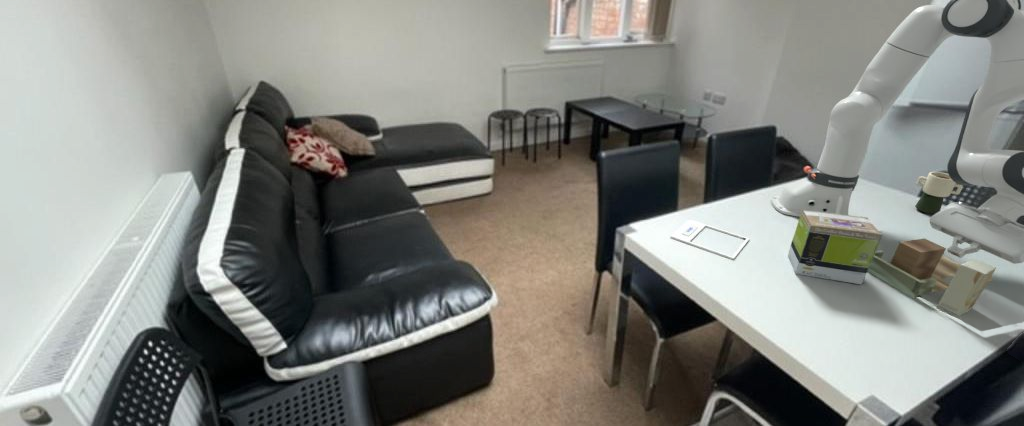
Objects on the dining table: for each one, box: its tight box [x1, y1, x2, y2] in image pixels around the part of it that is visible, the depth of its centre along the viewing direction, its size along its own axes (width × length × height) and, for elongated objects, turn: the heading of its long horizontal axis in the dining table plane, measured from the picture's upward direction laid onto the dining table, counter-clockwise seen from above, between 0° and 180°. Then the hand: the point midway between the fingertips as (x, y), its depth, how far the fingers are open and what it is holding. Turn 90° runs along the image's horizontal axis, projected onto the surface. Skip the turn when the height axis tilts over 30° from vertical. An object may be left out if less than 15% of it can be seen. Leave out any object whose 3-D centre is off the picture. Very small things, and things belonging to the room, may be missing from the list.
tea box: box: [787, 210, 883, 285], centre depth 113 cm, size 15×10×15 cm, turn 71°
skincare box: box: [936, 258, 997, 319], centre depth 99 cm, size 6×4×12 cm
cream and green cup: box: [914, 171, 964, 215], centre depth 145 cm, size 11×7×13 cm, turn 42°
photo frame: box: [670, 219, 750, 261], centre depth 130 cm, size 15×1×18 cm
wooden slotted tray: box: [867, 249, 993, 299], centre depth 114 cm, size 26×14×4 cm, turn 104°
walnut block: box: [889, 238, 947, 280], centre depth 110 cm, size 8×5×9 cm, turn 104°
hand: (953, 254), depth 113 cm, fingers closed
